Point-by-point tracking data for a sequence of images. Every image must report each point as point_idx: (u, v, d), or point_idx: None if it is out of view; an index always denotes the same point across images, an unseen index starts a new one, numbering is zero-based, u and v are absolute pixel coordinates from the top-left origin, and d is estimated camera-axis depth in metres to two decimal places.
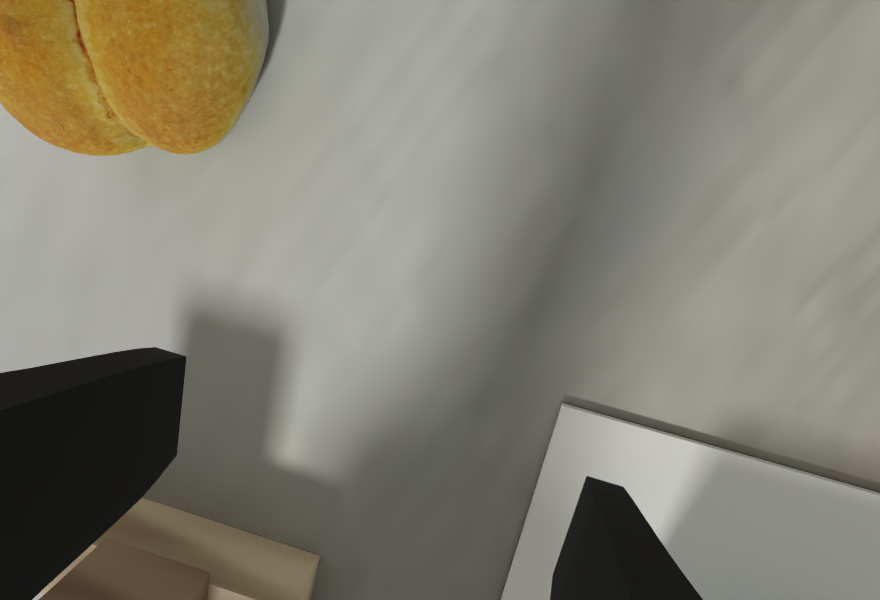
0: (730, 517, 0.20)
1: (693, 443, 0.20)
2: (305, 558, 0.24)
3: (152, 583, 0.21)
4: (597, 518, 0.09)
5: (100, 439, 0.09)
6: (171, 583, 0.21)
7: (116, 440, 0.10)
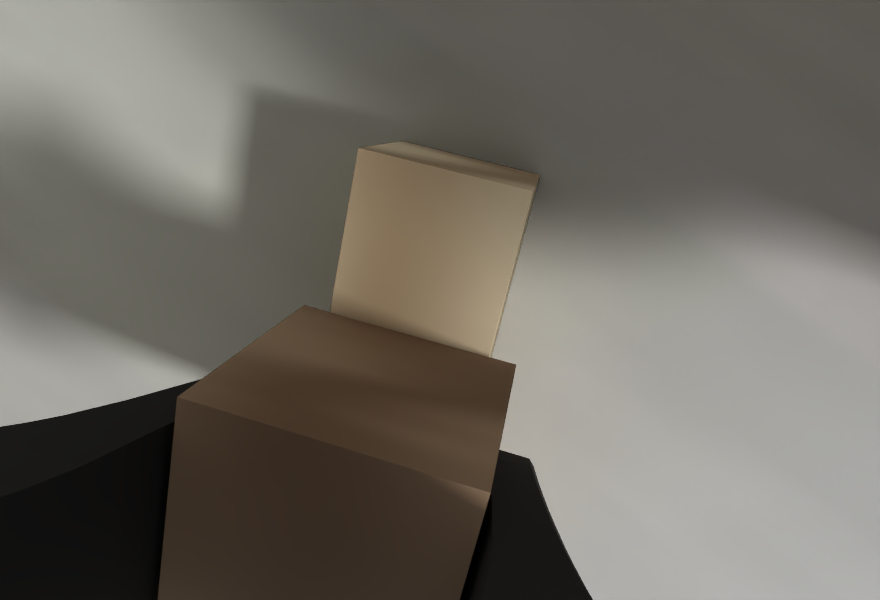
0: None
1: None
2: None
3: None
4: None
5: None
6: None
7: None
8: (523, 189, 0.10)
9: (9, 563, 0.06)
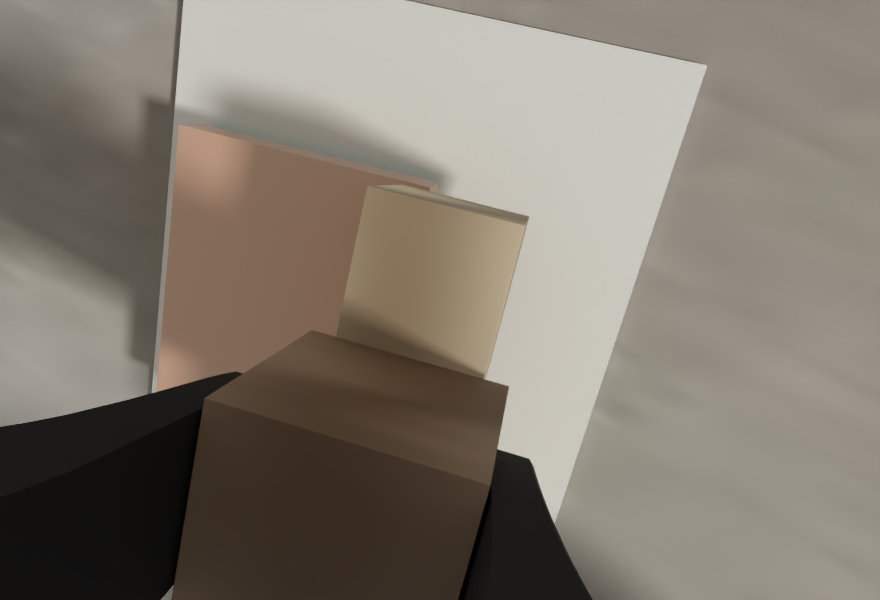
0: None
1: None
2: None
3: None
4: None
5: None
6: None
7: None
8: (516, 224, 0.11)
9: (9, 564, 0.06)
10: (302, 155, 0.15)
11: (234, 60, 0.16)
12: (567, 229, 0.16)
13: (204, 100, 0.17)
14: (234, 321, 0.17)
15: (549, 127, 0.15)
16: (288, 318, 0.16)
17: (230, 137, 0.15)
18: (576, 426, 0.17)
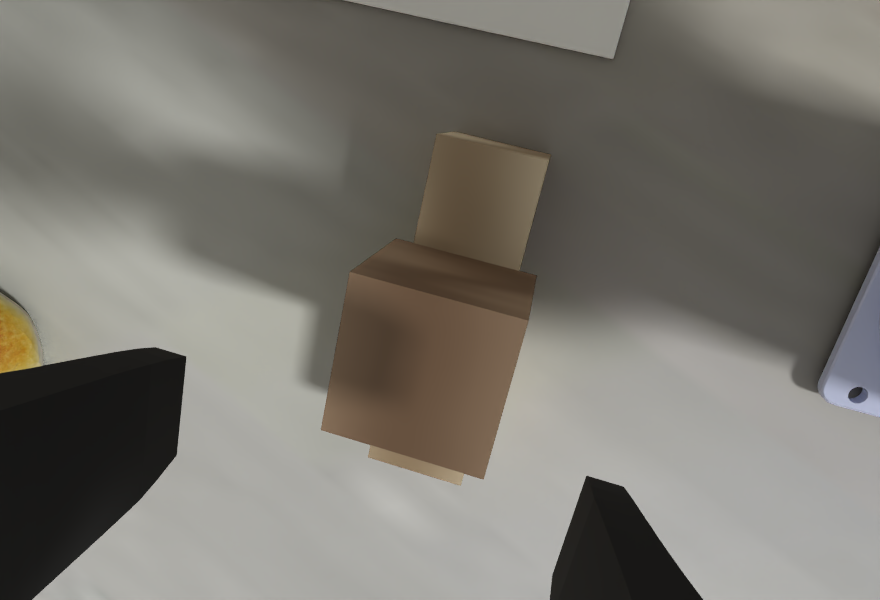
0: None
1: None
2: None
3: None
4: (597, 518, 0.09)
5: (101, 439, 0.09)
6: None
7: (116, 440, 0.10)
8: (542, 159, 0.16)
9: None
10: None
11: None
12: None
13: None
14: None
15: None
16: None
17: None
18: None
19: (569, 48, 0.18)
